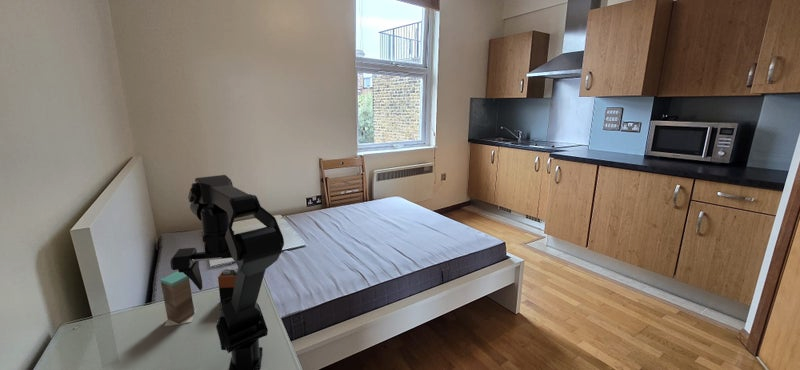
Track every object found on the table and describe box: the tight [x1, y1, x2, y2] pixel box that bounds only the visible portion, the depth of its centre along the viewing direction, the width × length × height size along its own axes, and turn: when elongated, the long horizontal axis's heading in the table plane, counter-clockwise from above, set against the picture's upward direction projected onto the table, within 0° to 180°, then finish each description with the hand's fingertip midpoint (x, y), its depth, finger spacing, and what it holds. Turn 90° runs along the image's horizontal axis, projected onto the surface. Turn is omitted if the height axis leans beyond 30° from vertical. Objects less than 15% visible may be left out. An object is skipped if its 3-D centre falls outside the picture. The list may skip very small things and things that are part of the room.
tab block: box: [160, 270, 196, 325], centre depth 87 cm, size 4×4×12 cm
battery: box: [217, 268, 238, 303], centre depth 96 cm, size 4×7×10 cm, turn 98°
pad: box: [163, 308, 198, 327], centre depth 88 cm, size 6×6×1 cm
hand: (222, 286), depth 81 cm, fingers open, 9 cm apart
